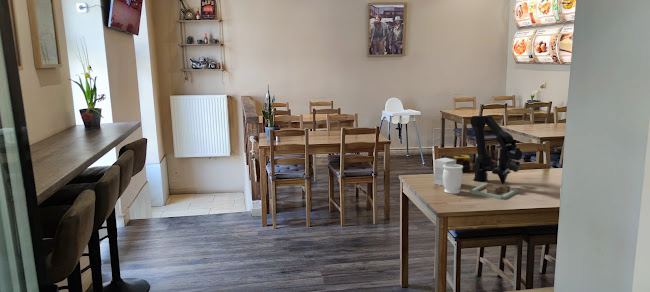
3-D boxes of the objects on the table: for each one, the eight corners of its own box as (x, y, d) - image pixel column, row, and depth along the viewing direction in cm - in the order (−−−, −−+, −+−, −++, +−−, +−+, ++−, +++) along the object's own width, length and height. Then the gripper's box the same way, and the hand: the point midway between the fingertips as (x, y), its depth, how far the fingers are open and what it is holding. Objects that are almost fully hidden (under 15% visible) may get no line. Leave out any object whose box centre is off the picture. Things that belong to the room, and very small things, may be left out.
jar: (462, 190, 269) (463, 164, 266) (461, 195, 259) (462, 168, 256) (443, 188, 272) (443, 163, 269) (441, 193, 262) (442, 167, 260)
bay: (469, 193, 263) (469, 190, 262) (484, 186, 276) (484, 183, 276) (503, 199, 250) (503, 196, 250) (517, 192, 264) (517, 189, 264)
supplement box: (443, 181, 288) (444, 157, 285) (455, 184, 280) (456, 159, 278) (433, 184, 282) (434, 159, 280) (445, 187, 275) (446, 161, 273)
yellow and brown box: (470, 173, 308) (470, 158, 306) (453, 172, 310) (454, 157, 308) (468, 169, 317) (469, 154, 316) (453, 169, 320) (453, 154, 318)
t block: (489, 188, 273) (489, 182, 272) (509, 191, 265) (510, 186, 264) (479, 192, 264) (480, 187, 263) (501, 196, 256) (501, 191, 255)
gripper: (512, 161, 257) (510, 189, 260) (525, 156, 270) (523, 182, 273) (492, 158, 264) (490, 186, 267) (505, 153, 278) (504, 179, 281)
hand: (503, 183), depth 272 cm, fingers closed
